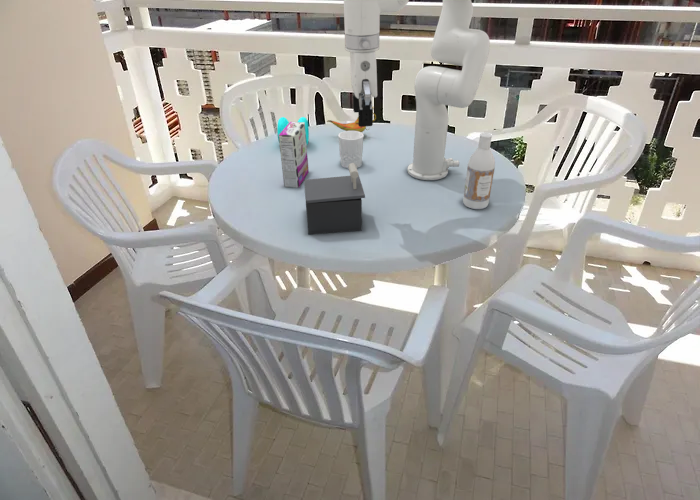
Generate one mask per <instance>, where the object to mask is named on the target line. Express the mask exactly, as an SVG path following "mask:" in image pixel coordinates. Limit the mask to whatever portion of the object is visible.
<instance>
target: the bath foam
mask: <svg viewBox="0 0 700 500" xmlns="http://www.w3.org/2000/svg"><path fill="white" fill-rule="evenodd" d="M492 137H493V136H492V134H491V133H489V132H482V133H480V134H479V138H478V147H477V148H476V149H475V150H474V151H473V152H472V154H471V155H470V156H469V159H468V161H467V166H466V167H467V168H466V174H465V182H464V190H463V198H462V203H463V205H464V206H465V207H467V208H469V209H473V210H482V209H485V208H487V207H488V206H489V203H490V198H491V193H492V187H493V186H492V185H493V179H494V175H495V174H494V173H495V168H496V160H495V156H494V153H493V152H492V150H491V143H492Z"/></svg>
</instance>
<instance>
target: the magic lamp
mask: <svg viewBox="0 0 700 500" xmlns="http://www.w3.org/2000/svg"><path fill="white" fill-rule="evenodd" d="M372 108H373V111H374V110H375V106H373V105H372ZM373 116H374V118H373V122H374V121H376V119H377V115H376V114H375V113H374V112H373ZM326 122H328V123H331V124H332V125H334V126H335V127H337V128H339V129H340V130H343V131H359V132H361V133H363V132H364V131H365V130H366V131H369V130H370V128H368V129H367V126H365V127H360V126H359V119H358V117H357V118H356V120H355V121H354V122H349V123H341V122H338V121H335V120H332V119H331V120H330V119H328V120H326Z"/></svg>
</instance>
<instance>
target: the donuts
mask: <svg viewBox="0 0 700 500" xmlns="http://www.w3.org/2000/svg"><path fill="white" fill-rule="evenodd" d="M289 122H290V121H289V120H288V119H287V118H286V117H285V116H281V117H279V118H278V120H277V124H276V125H277V126H276V131H277V140H278V142H279V136H278V135H279V134H280V133H281V132H282V131H283V130H284V128H285V127H286V126H287V125H288V124H289ZM297 122H304V123H305V132H306V144H307V145H309V140H310V129H309V120H308V118H306V117H305V116H301V117H299V119H298V120H297Z"/></svg>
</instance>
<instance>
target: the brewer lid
mask: <svg viewBox="0 0 700 500" xmlns="http://www.w3.org/2000/svg"><path fill="white" fill-rule="evenodd" d="M347 169H348V171H349V172H348V173H349V175H341V176H331V177H330V176H329V177H320V178H319V177H318V178H309V179H304V181H303V183H304V184H303V185H305V186H304V196H305V197H306V200H305V204H306V203H316V202H327V201H338V200H348V199H359V198H361V199H366V194H365V191H364V188H363V184H362V181H361V178H360V174H359V171H358V168H357V167H356V165H355V164H354V163H350V164H349V165H348V168H347Z"/></svg>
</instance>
